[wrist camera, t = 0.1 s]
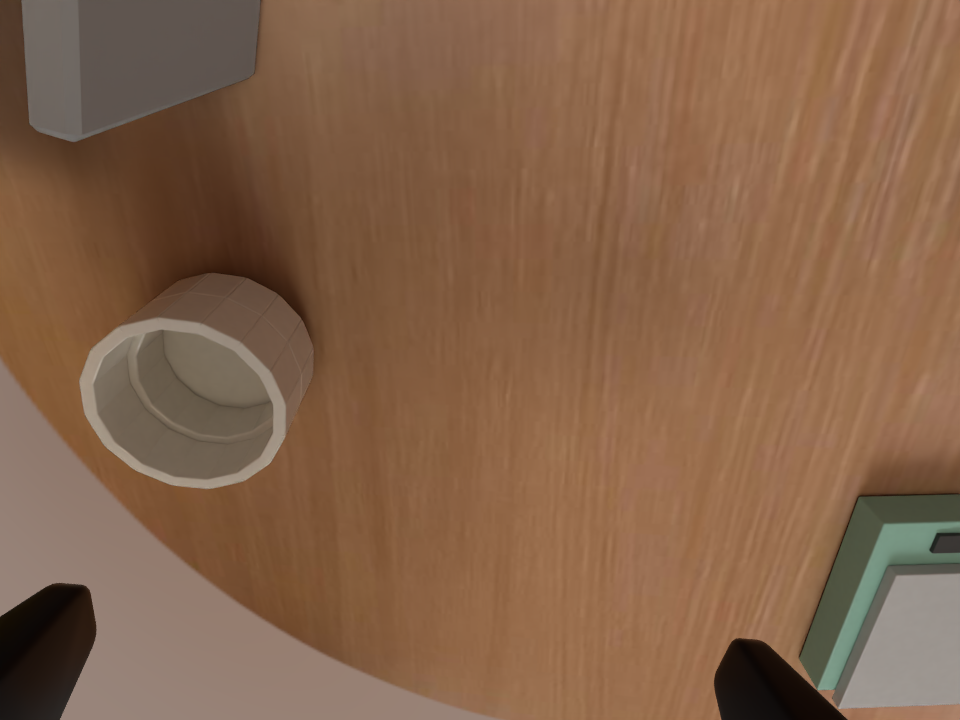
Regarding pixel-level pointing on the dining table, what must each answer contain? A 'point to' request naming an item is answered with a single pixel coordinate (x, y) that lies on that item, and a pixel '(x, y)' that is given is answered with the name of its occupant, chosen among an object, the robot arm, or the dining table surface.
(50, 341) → the dining table surface
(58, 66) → the yellow framed monitor
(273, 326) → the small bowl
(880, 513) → the kitchen scale
